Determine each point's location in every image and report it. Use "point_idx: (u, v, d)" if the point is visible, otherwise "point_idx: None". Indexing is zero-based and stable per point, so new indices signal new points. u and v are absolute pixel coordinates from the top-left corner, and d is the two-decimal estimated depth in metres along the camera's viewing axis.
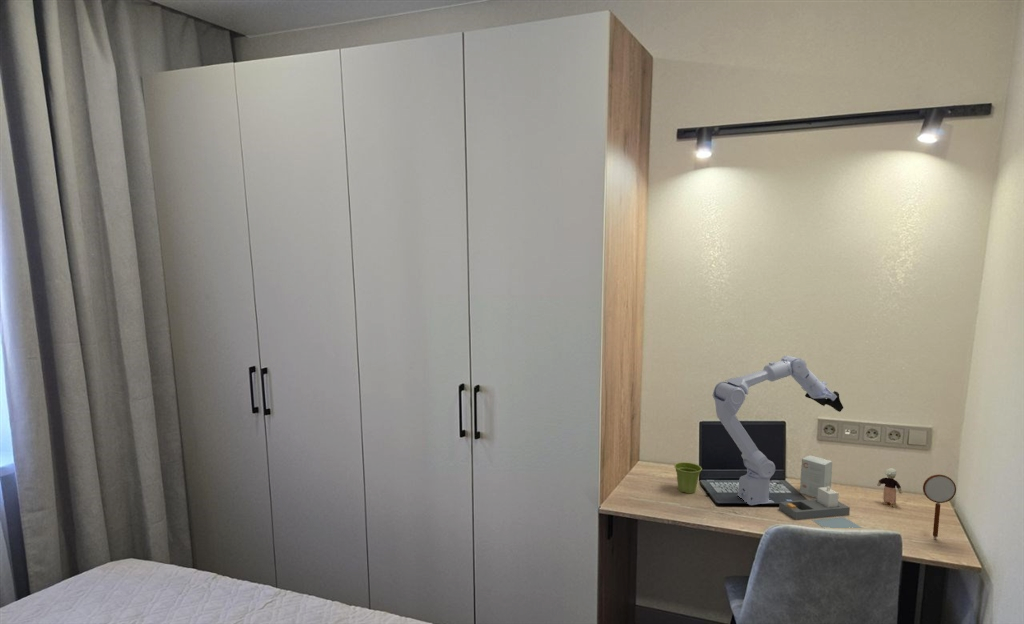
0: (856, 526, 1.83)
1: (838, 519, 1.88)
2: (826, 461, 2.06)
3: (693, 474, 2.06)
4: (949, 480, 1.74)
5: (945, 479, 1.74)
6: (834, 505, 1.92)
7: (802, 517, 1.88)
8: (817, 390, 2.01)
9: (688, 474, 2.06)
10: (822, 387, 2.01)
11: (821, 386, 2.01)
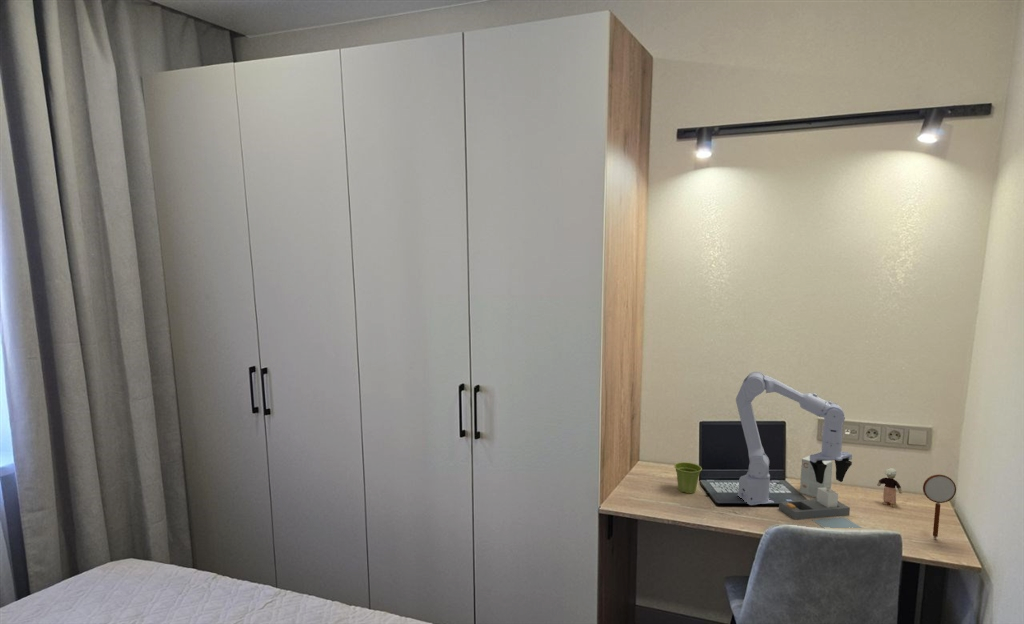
0: (856, 526, 1.83)
1: (838, 519, 1.88)
2: (826, 461, 2.06)
3: (693, 474, 2.06)
4: (949, 480, 1.74)
5: (945, 479, 1.74)
6: (833, 505, 1.92)
7: (801, 517, 1.88)
8: (822, 447, 1.93)
9: (688, 474, 2.06)
10: (827, 452, 1.91)
11: (827, 451, 1.91)
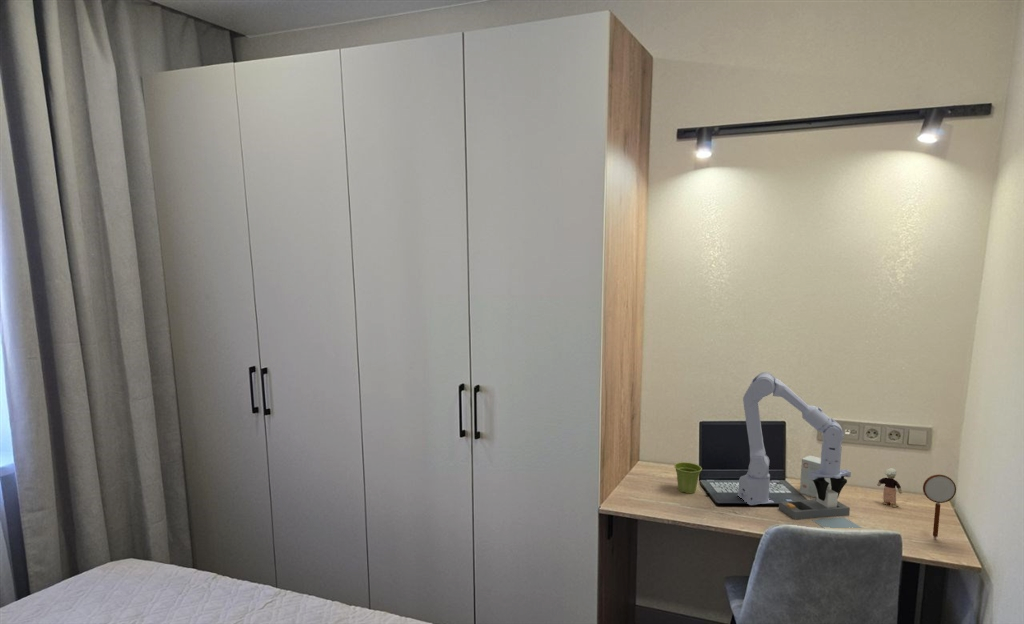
0: (856, 526, 1.83)
1: (838, 519, 1.88)
2: None
3: (693, 474, 2.06)
4: (949, 480, 1.74)
5: (945, 479, 1.74)
6: (833, 505, 1.92)
7: (801, 517, 1.88)
8: (821, 465, 1.93)
9: (688, 474, 2.06)
10: (825, 470, 1.91)
11: (825, 468, 1.91)
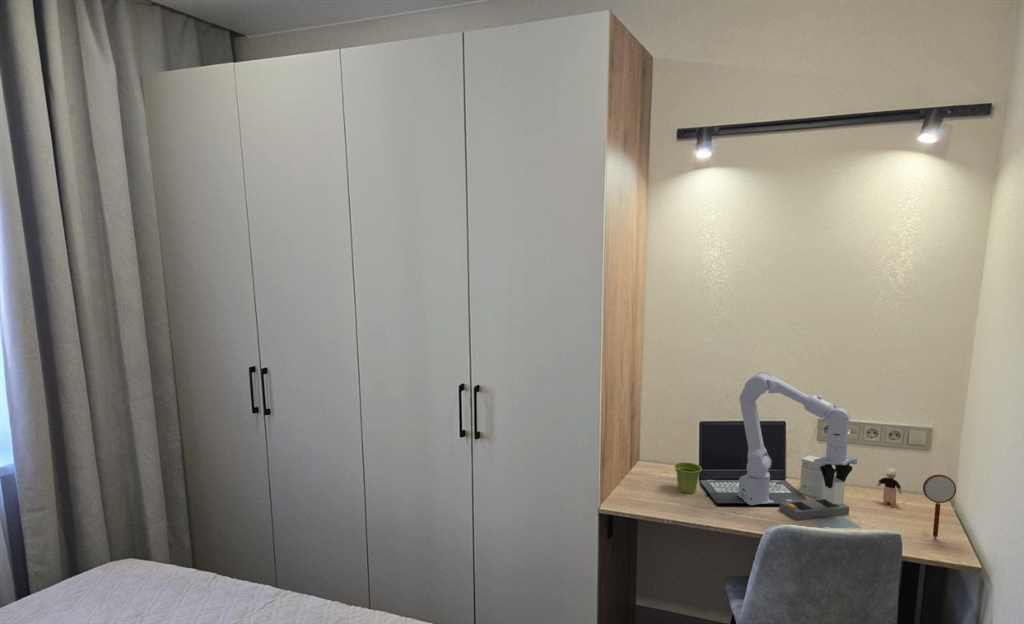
0: (856, 526, 1.83)
1: (838, 519, 1.88)
2: None
3: (693, 474, 2.06)
4: (949, 480, 1.74)
5: (945, 479, 1.74)
6: (840, 494, 1.87)
7: (803, 517, 1.88)
8: (827, 452, 1.89)
9: (688, 474, 2.06)
10: (831, 457, 1.87)
11: (832, 455, 1.87)
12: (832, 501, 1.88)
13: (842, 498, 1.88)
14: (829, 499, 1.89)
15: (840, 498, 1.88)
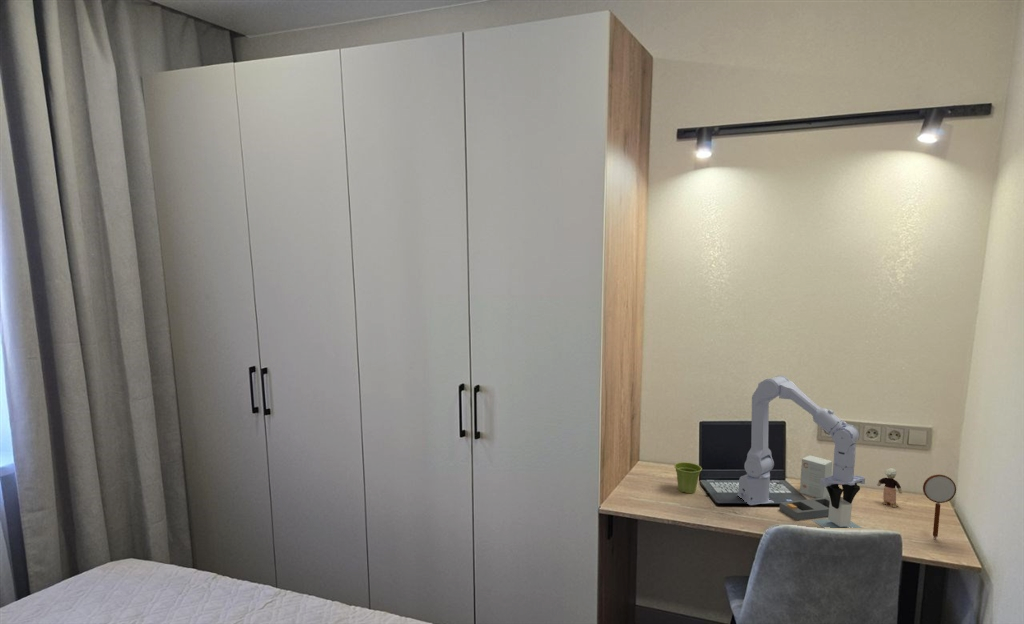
0: (856, 526, 1.83)
1: None
2: (826, 461, 2.06)
3: (693, 474, 2.06)
4: (949, 480, 1.74)
5: (945, 479, 1.74)
6: (847, 517, 1.81)
7: (803, 517, 1.88)
8: (833, 471, 1.82)
9: (688, 474, 2.06)
10: (838, 476, 1.81)
11: (838, 475, 1.81)
12: (838, 524, 1.82)
13: (849, 521, 1.82)
14: (835, 521, 1.83)
15: (847, 521, 1.82)
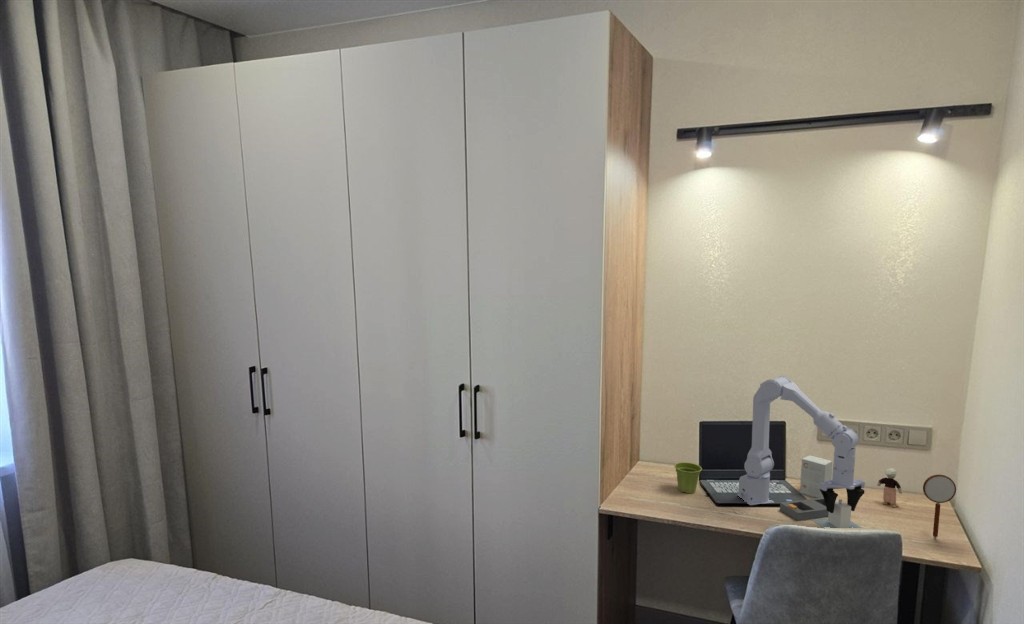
0: (856, 526, 1.83)
1: None
2: (826, 461, 2.06)
3: (693, 474, 2.06)
4: (949, 480, 1.74)
5: (945, 479, 1.74)
6: (846, 519, 1.82)
7: (804, 518, 1.87)
8: (833, 475, 1.83)
9: (688, 474, 2.06)
10: (838, 480, 1.81)
11: (838, 479, 1.81)
12: (838, 526, 1.82)
13: (848, 523, 1.82)
14: (835, 524, 1.83)
15: (847, 523, 1.82)
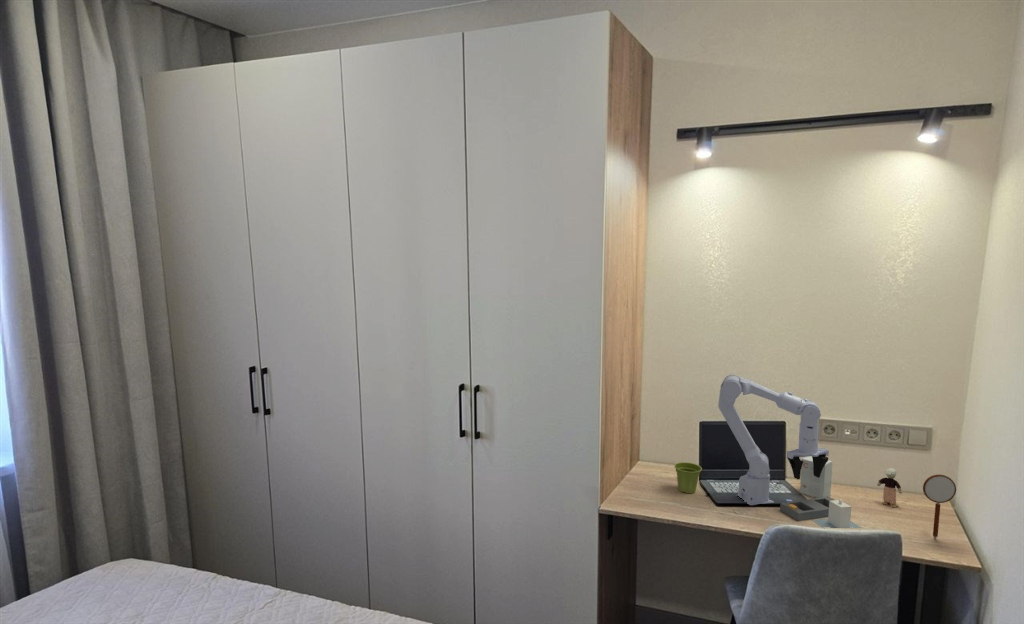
0: (856, 526, 1.83)
1: None
2: None
3: (693, 474, 2.06)
4: (949, 480, 1.74)
5: (945, 479, 1.74)
6: (846, 519, 1.82)
7: (804, 518, 1.87)
8: (799, 444, 1.96)
9: (688, 474, 2.06)
10: (803, 449, 1.95)
11: (803, 447, 1.94)
12: (838, 526, 1.82)
13: (848, 523, 1.82)
14: (835, 524, 1.83)
15: (847, 523, 1.82)
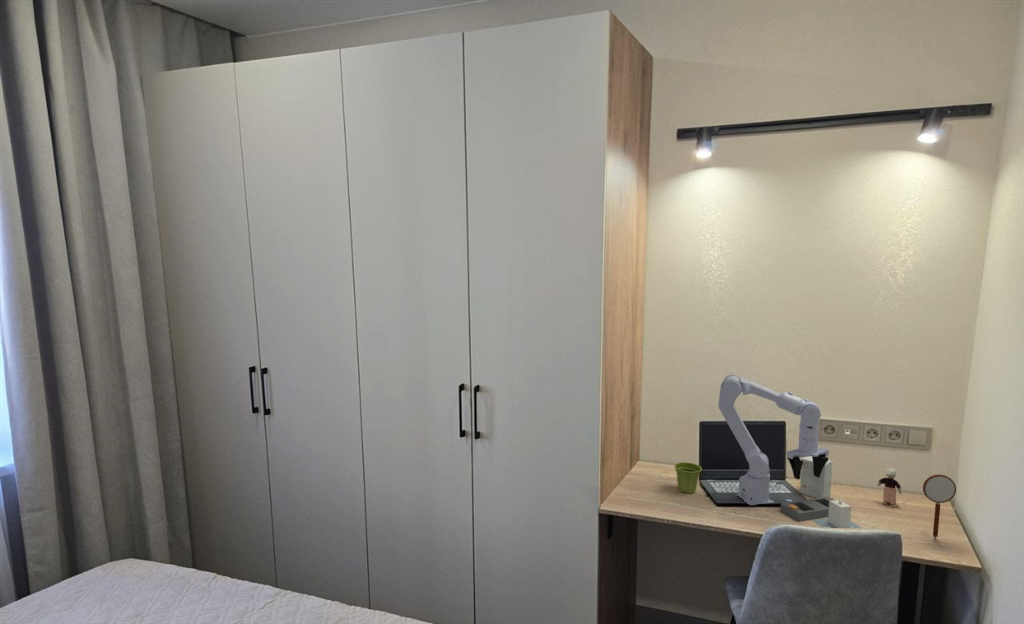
0: (856, 526, 1.83)
1: None
2: None
3: (693, 474, 2.06)
4: (949, 480, 1.74)
5: (945, 479, 1.74)
6: (846, 519, 1.82)
7: (805, 518, 1.87)
8: (799, 444, 1.96)
9: (688, 474, 2.06)
10: (803, 449, 1.95)
11: (803, 447, 1.94)
12: (838, 526, 1.82)
13: (848, 523, 1.82)
14: (835, 524, 1.83)
15: (847, 523, 1.82)
